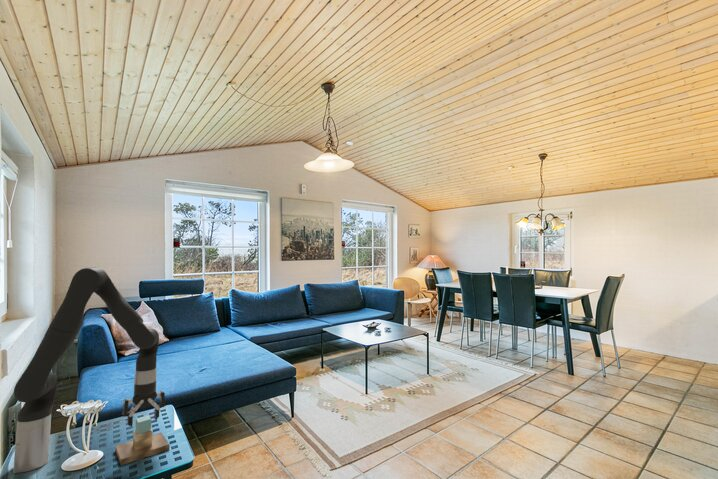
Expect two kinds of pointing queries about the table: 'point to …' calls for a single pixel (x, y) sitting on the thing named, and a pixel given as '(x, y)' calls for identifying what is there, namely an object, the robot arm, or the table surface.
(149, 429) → the teal block
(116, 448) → the walnut board
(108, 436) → the table surface
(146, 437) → the oak block
